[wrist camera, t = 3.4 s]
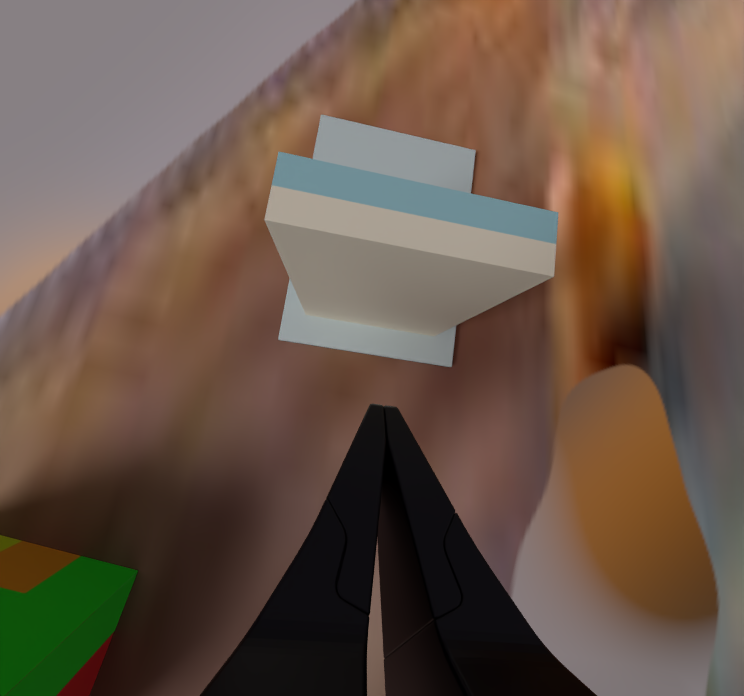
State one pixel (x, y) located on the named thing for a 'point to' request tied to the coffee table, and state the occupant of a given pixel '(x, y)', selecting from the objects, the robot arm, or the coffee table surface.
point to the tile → (401, 246)
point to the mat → (398, 160)
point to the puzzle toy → (56, 618)
